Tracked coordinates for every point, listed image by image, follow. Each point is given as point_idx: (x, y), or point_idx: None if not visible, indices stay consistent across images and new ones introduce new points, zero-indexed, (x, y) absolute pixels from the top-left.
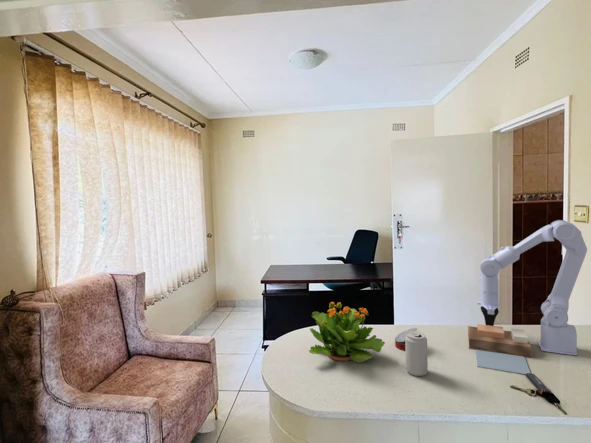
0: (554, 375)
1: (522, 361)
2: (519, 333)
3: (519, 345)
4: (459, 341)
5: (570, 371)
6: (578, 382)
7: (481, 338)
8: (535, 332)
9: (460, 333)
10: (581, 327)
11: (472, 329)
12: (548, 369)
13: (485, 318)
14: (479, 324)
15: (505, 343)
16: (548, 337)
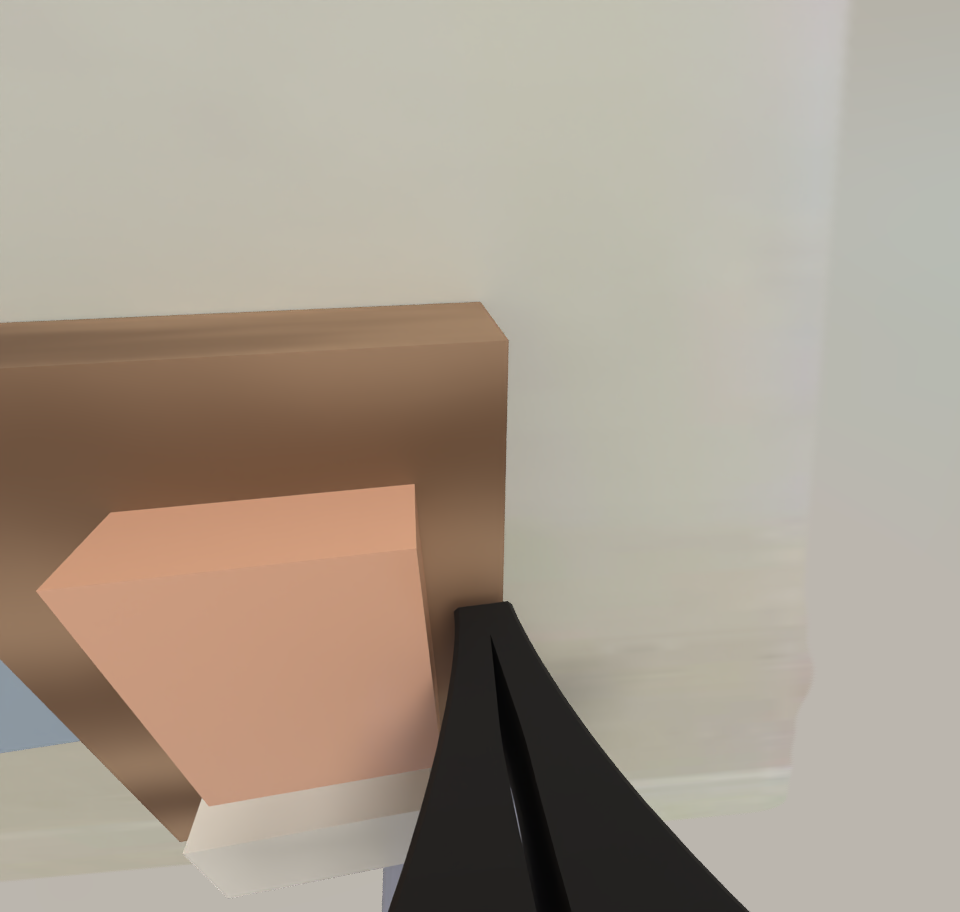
0: (11, 820)
1: (56, 728)
2: (308, 860)
3: (145, 804)
4: (121, 157)
5: (155, 841)
6: (26, 867)
7: (4, 559)
8: (682, 717)
9: (508, 176)
10: (765, 805)
11: (360, 418)
12: (83, 799)
13: (429, 783)
14: (406, 578)
15: (88, 744)
16: (391, 900)
